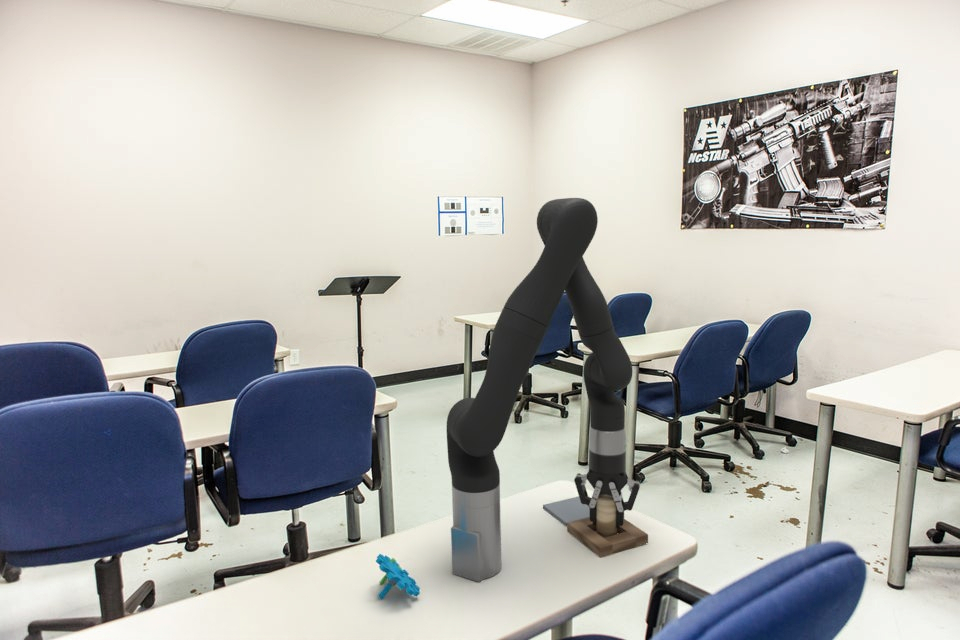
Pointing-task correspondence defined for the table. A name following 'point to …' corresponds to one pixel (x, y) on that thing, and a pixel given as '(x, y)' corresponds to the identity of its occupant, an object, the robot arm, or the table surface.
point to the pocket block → (601, 546)
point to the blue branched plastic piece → (395, 577)
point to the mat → (568, 510)
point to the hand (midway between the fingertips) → (606, 524)
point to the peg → (606, 516)
